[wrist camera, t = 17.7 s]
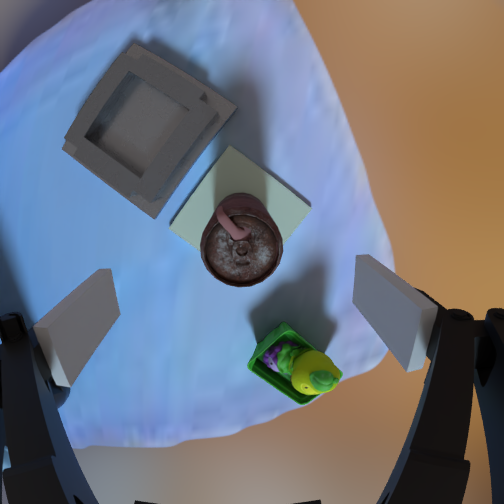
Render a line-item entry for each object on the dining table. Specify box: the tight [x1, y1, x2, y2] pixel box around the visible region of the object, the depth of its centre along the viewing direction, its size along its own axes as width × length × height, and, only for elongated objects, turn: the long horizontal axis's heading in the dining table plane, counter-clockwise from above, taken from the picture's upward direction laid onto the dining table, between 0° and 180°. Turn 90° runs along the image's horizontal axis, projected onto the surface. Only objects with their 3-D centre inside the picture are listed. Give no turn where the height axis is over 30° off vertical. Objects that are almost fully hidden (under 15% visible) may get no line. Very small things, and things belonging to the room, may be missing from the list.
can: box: [200, 193, 283, 287], centre depth 28 cm, size 6×6×14 cm
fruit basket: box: [247, 322, 343, 405], centre depth 35 cm, size 11×9×11 cm
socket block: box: [62, 43, 237, 219], centre depth 30 cm, size 16×16×4 cm
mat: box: [169, 145, 312, 252], centre depth 35 cm, size 12×12×1 cm
